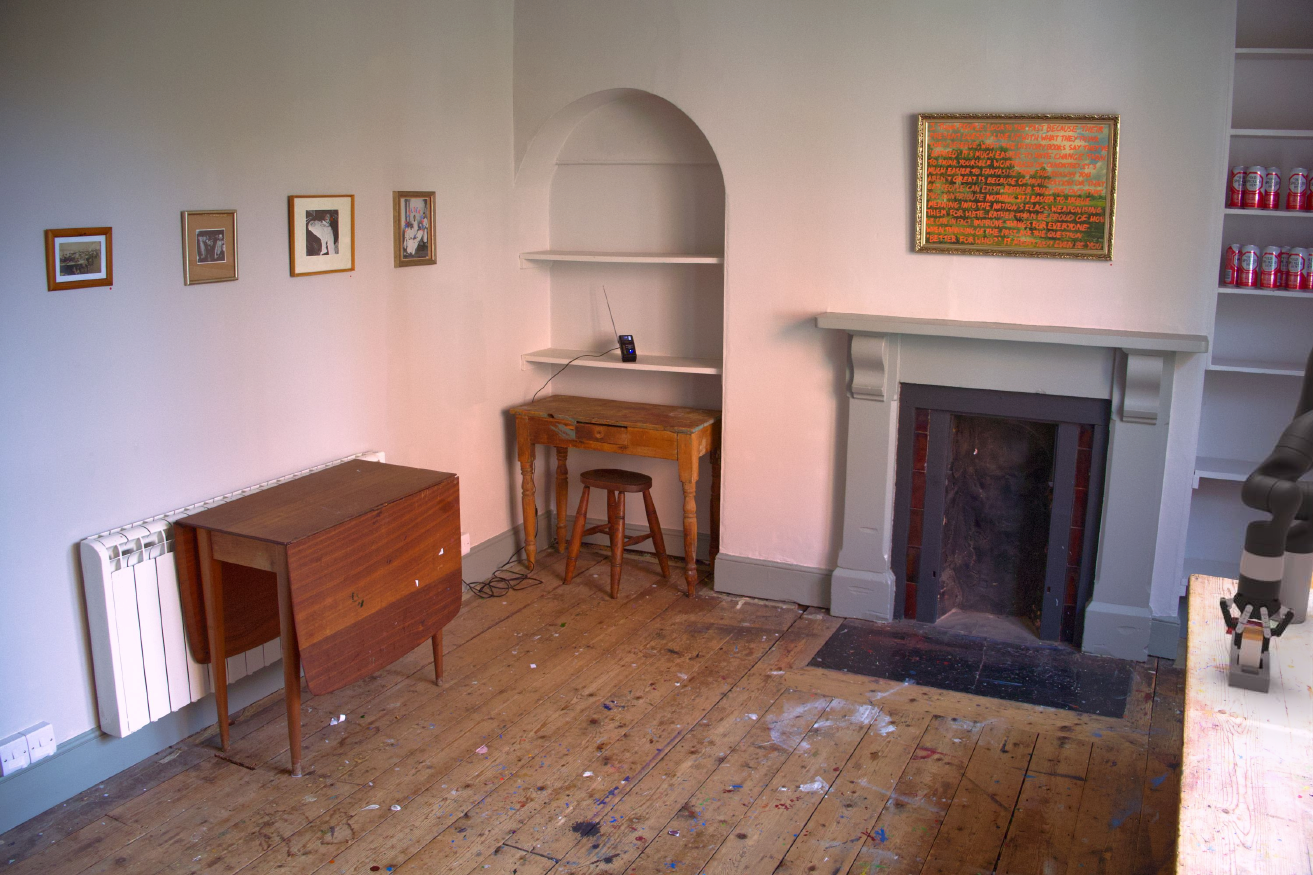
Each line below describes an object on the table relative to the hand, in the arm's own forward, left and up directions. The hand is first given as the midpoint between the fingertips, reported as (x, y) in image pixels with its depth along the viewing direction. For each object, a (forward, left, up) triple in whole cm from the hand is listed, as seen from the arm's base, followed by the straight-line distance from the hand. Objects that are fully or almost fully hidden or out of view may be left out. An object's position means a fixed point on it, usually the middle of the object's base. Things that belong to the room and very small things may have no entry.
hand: (1250, 649), depth 215 cm
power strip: (-4, -1, -7) cm, 8 cm away
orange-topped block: (0, 0, -4) cm, 4 cm away
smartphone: (-24, -6, -7) cm, 25 cm away
